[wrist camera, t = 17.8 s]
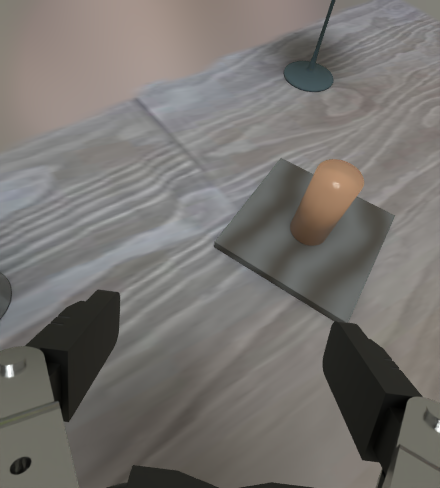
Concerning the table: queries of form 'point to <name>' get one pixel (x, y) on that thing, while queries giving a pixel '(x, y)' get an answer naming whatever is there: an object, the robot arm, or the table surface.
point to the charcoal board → (305, 256)
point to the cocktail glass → (311, 68)
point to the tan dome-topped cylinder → (326, 201)
